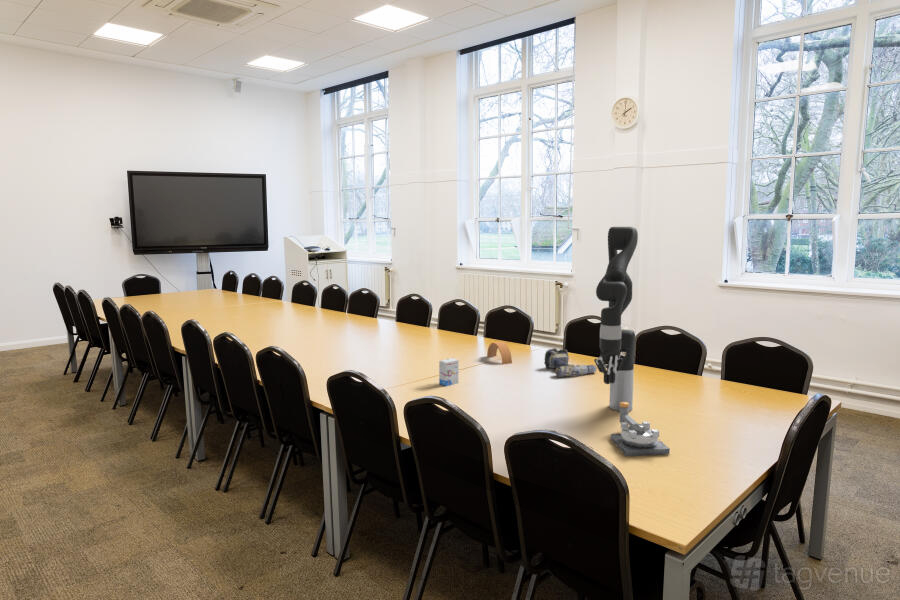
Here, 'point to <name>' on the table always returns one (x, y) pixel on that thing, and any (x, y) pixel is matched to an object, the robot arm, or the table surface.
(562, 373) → the power drill
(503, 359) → the arch
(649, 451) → the base plate
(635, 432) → the orange knob lever
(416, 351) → the table surface
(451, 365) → the ink box
